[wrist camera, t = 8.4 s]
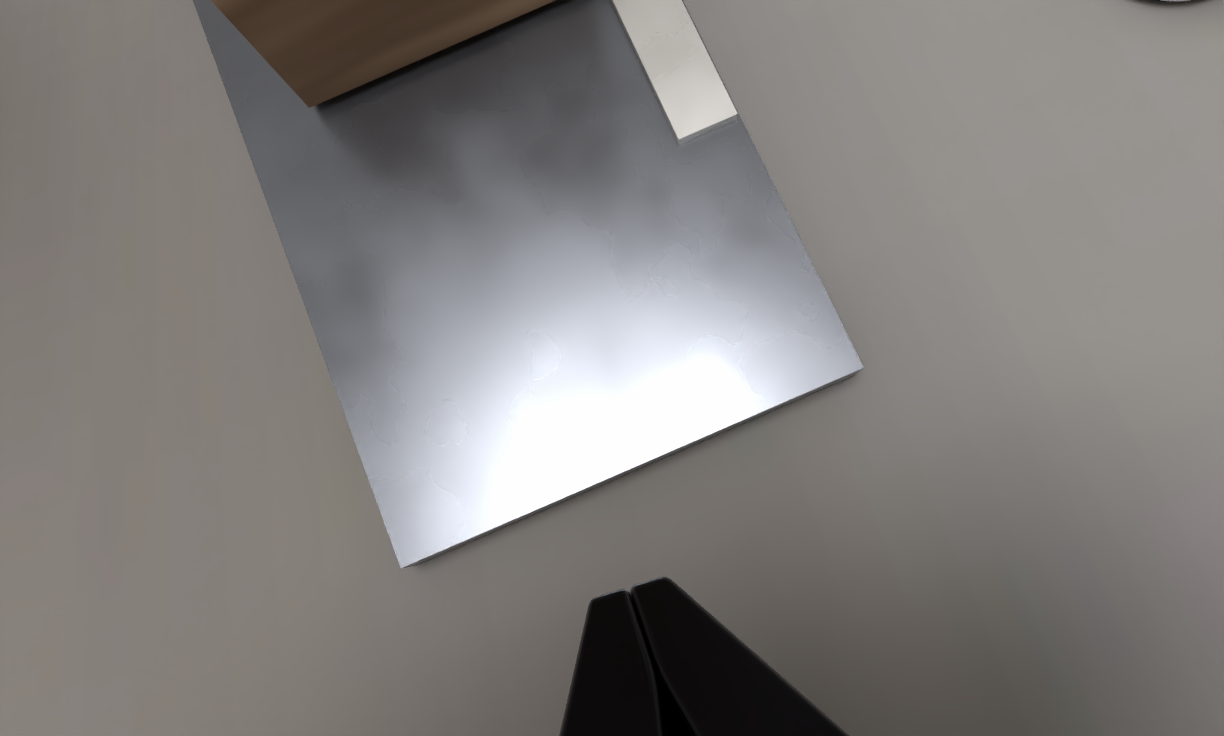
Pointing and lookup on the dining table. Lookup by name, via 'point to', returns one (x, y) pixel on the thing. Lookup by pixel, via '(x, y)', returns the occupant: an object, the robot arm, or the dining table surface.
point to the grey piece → (534, 260)
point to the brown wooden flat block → (358, 36)
